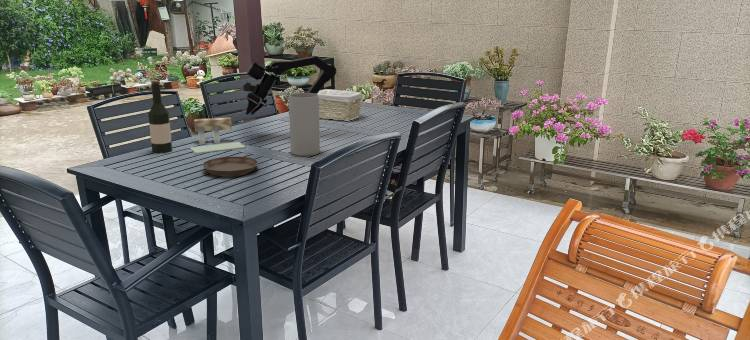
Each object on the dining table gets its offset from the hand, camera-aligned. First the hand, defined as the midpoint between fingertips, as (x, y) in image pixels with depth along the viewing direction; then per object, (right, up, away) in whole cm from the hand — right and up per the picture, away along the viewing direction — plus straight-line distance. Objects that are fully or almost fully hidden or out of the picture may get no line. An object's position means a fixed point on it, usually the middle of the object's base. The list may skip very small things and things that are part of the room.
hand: (249, 114), depth 260 cm
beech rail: (-15, -8, -4) cm, 18 cm away
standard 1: (-21, -13, -4) cm, 25 cm away
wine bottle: (-33, -18, -20) cm, 42 cm away
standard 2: (-15, -13, -2) cm, 19 cm away
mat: (-11, -16, -14) cm, 24 cm away
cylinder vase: (+29, -19, -19) cm, 39 cm away
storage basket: (+38, +3, +51) cm, 64 cm away
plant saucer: (+3, -27, -45) cm, 52 cm away
